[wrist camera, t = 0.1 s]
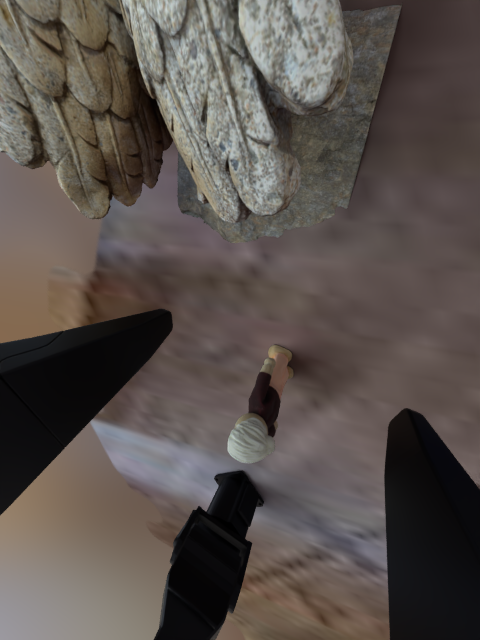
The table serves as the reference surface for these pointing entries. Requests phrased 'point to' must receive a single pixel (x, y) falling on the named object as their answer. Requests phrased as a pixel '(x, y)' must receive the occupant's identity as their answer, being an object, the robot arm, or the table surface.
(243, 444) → the grandmother figurine
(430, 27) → the table surface
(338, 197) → the cherub figurine
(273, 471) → the table surface
